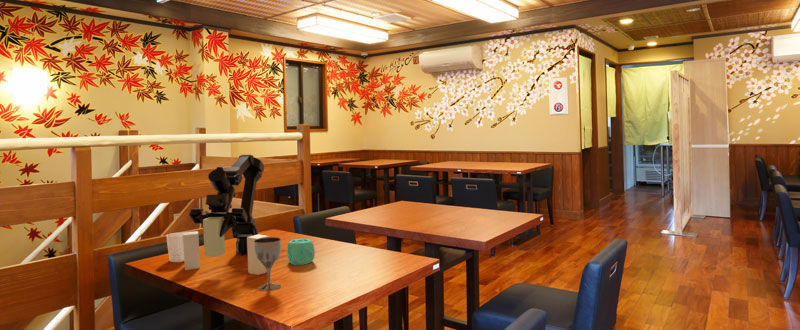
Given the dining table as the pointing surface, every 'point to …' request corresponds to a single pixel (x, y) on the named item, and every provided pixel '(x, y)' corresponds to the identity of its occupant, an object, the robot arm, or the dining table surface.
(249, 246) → the cream block
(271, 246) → the wine glass
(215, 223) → the sage block
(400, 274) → the dining table surface
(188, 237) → the pale pink tall block
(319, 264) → the dining table surface
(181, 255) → the white cup
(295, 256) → the decorative dice
